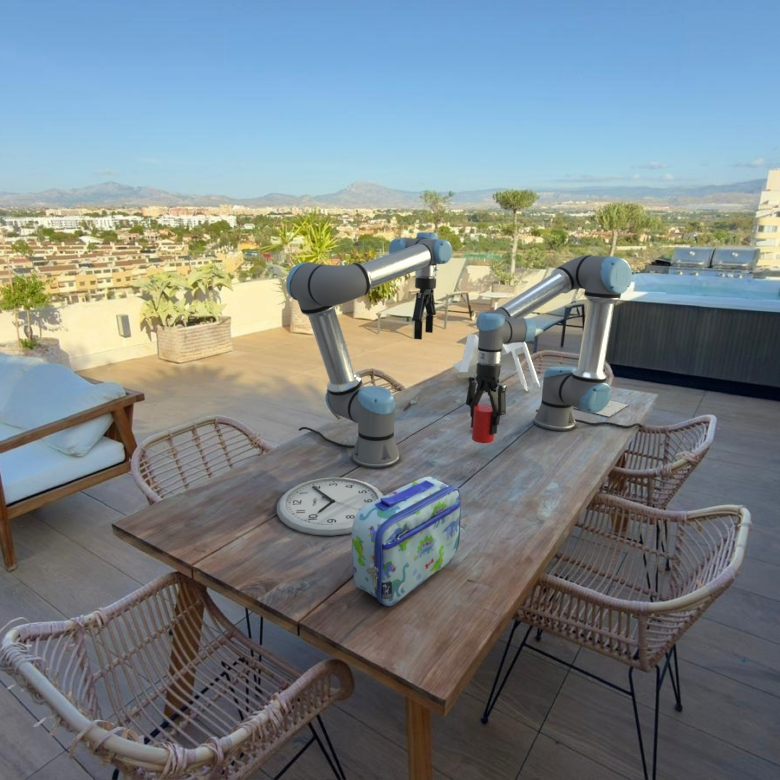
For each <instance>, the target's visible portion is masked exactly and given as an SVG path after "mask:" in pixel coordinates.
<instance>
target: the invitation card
mask: <svg viewBox="0 0 780 780" xmlns="http://www.w3.org/2000/svg"><path fill="white" fill-rule="evenodd" d="M628 406H629V404H627V403H623V402H618V401H614V400H610V401H609V402H608V404H607V405H606V407H604V408H603V409H602V410H601V411H599V412H597V413H595V414H596V415H600V416H604V417H608V418H609V417H611V416H613V415H614V414H616V413H617V412H619V411H621V410H623V409H624V408H626V407H628ZM573 409H575V410H579V409H578V408H575V407H573Z"/></svg>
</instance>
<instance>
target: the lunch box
mask: <svg viewBox="0 0 780 780" xmlns="http://www.w3.org/2000/svg"><path fill="white" fill-rule="evenodd" d="M461 499H462V497H461V491H460V489H459V488H458V487H457V486H455V485H450V486H449V485H447V484H445V483H444V482H442V481H440V480H438V479H436V478H434V477H432V476H424V477H421V478H419V479H416V480H414V481H412V482H410V483H407V484H405V485H404V486H401V487H399V488H397V489H395V490H392V491H391V492H390V493H386V494H384V496H383V497H381V498H379V499H377V500H375V501H373V502H371V503H369V504H367V505H365V506H364V507H362V508H361V509H360V510H359V512H358V513H357V515H356V516H355V518H354V521H353V526H352V533H351V550H352V576H353V581H354V584H355V587H356V588H358V589H360V590H362V591H364V592H366V593H368V594H370V596H372V597H374V598H375V599H377V601H378V603H379V604H382V605H383V606H385V607H393V606H394V605H396V604H397V603H399V602H400V601H402V599H404V598H405V597H406V596H407V595H409V594H410V593H411V592H413V591H414V590H415V589H416V588H418V587H419V586H420V585H422V584H423V583H424V582H425V581H427V580H428V579H429V578H430V577H432V575H434V574H435V573H437V572H439V571H441V570H442V569H443V568H445V567H446V566H448V565H449V564H450V562H452V560H453V559H454V557H455V555H456V553H457V551H458V549H459V544H460V537H461V519H462V515H461V513H462V512H461V510H462V507H461V505H462V504H461V503H462V502H461Z"/></svg>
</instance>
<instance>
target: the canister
mask: <svg viewBox="0 0 780 780" xmlns="http://www.w3.org/2000/svg"><path fill="white" fill-rule="evenodd" d="M492 415H493V410H492V406H491V405H489V404H478V405H477V406H475V407H474V415H473V428H471V429H472V430H471V439H472V441H474V443H475V442H476V443H478V444H491V443H493V442H494V440H495V434H493V435H490V424H491V416H492Z"/></svg>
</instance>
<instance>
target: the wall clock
mask: <svg viewBox="0 0 780 780" xmlns="http://www.w3.org/2000/svg"><path fill="white" fill-rule="evenodd" d="M383 496H385V494H384V493H383V492H382V491H381V490H380V489H379V488H377V487H376V486H374V485H372V484H371V483H369V482H365V481H362V480H359V479H355V478H349V477H338V476H337V477H335V476H333V477H332V476H331V477H322V478H317V479H312V480H307V481H305V482H302V483H299V484H297V485H295V486H293V487H292V488H290V489H288V490H287V491H286V492H285V493H284V494H283V495H281V496H280V498H279V499H278V502H277V503H276V515H277V517H278V518H279V520H280V521H281V522H282V523H283V524H285V525H286V526H287V527H288V528H290V529H293V530H295V531H297V532H299V533H303V534H308V535H312V536H327V537H328V536H329V537H331V536H332V537H333V536H342V535H350V534H352V526H353V521H354V518H355V516H356V515H357V513H358V512H359V510H360V509H361V508H362V507H364V506H365V505H367V504H369V503H371V502H373V501H375V500H377V499H379V498H381V497H383Z"/></svg>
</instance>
